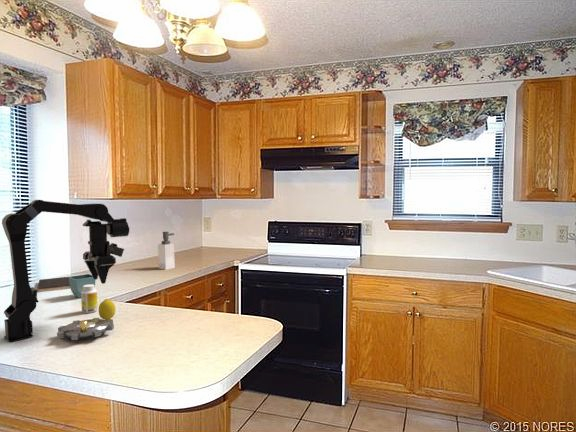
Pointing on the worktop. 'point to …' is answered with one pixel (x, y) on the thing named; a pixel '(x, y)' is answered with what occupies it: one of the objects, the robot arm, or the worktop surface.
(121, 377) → the worktop surface
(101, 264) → the robot arm
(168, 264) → the soap dispenser
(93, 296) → the supplement bottle
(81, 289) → the flower pot
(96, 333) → the sprocket
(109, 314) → the lemon
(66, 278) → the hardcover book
